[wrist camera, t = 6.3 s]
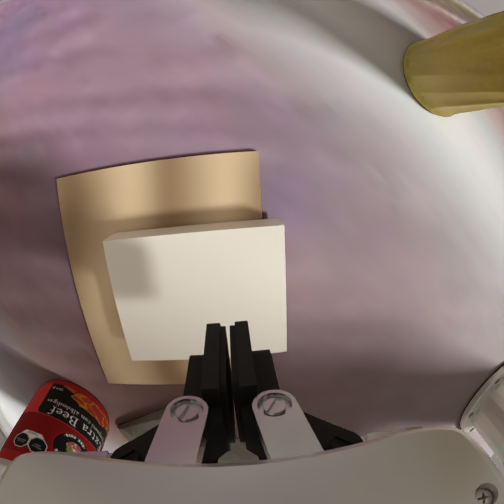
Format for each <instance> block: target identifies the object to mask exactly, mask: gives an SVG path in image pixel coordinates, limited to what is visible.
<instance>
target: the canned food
mask: <svg viewBox="0 0 504 504" xmlns="http://www.w3.org/2000/svg"><path fill="white" fill-rule="evenodd" d="M108 430H109V418H108V414H107V412H106V410H105V408H104V407H103V405H102V404H101V403H100V402H99V401H98V400H97V399H96V398H95V397H94V396H93V395H92V394H90V393H89V392H87V391H86V390H84V389H83V388H81V387H79V386H77V385H75V384H72V383H70V382H66V381H61V380H52V381H49V382H47V383H45V384H44V385H42V386H41V387H40V388H39V389H38V391H37V392H36V394H35V395H34V397H33V398H32V400H31V401H30V403H29V404H28V406H27V407H26V409H25V411H24V412H23V414H22V415H21V417H20V419H19V420H18V422H17V423H16V425H15V427H14V428H13V430H12V432H11V433H10V435H9V437H8V439H7V440H6V442H5V444H4V446H3V447H2V449H1V451H0V477H1V476H2V474H3V473H4V471H5V469H6V468H7V466H8V465H9V464H10V463H11V462H12V461H13V460H14V459H15V458H16V457H18V456H20V455H23V454H26V453H31V452H41V451H57V452H91V451H102V449H103V445H104V442H105V439H106V436H107V433H108Z"/></svg>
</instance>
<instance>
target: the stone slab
mask: <svg viewBox="0 0 504 504" xmlns="http://www.w3.org/2000/svg"><path fill="white" fill-rule="evenodd" d="M166 407H167V406H166ZM166 407H164V408H162V409H160V410H158V411H156V412H153V413H151V414H149V415H146V416H143V417H141V418H138V419H135V420H132V421H130V422H127V423H124V424H121V425H119V426H118V429H119V430H120V431H121V432H122V434H123V435H124V437H125V438H127V439H128V440H129V441H132V440H133V439H135V438H137V437H138V436H140V435H142V434H143V433H145V432H147V431H148V430H150V429H152V428H153V427H155V426H157V425H158V424H159V423H160V421H161V419H162V416H163V414H164V411H165V409H166ZM230 447H231V451H228V452H226V453H225V454H224V455H223V456H221V463H234V462H248V461H258V460H257V455H255V454H253V453H252V452H250V451H248V450H247V449H246V444H244V443H243V442H241V443H240V439H238V438H236V443H230Z"/></svg>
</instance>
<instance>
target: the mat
mask: <svg viewBox="0 0 504 504" xmlns="http://www.w3.org/2000/svg"><path fill="white" fill-rule="evenodd" d="M56 180H57V189H58V198H59V205H60V212H61V218H62V224H63V230H64V236H65V241H66V246H67V251H68V256H69V260H70V265H71V269H72V273H73V277H74V281H75V285H76V289H77V293H78V296H79V300H80V304H81V307H82V310H83V314H84V317H85V320H86V323H87V327H88V330H89V333H90V336H91V339H92V342H93V344H94V347H95V350H96V353H97V355H98V358H99V361H100V363H101V366H102V369H103V371H104V374H105V376H106V379H107V381H108V383H115V384H149V385H169V384H185V382H186V375H187V369H188V362H189V359H188V360H142V361H138V360H132V358H131V355H130V352H129V349H128V345H127V342H126V339H125V335H124V332H123V328H122V325H121V321H120V317H119V314H118V310H117V306H116V302H115V298H114V294H113V290H112V285H111V281H110V276H109V272H108V267H107V262H106V257H105V252H104V246H103V241H104V240H105V239H107V238H108V237H109V236H111V235H112V234H114V233H119V232H128V231H137V230H147V229H156V228H167V227H177V226H188V225H199V224H210V223H222V222H234V221H247V220H260V219H262V203H261V186H260V170H259V154H258V151H249V152H234V153H221V154H210V155H200V156H190V157H181V158H173V159H165V160H157V161H150V162H143V163H137V164H130V165H124V166H118V167H112V168H107V169H101V170H96V171H91V172H86V173H81V174H76V175H71V176H67V177H62V178H58V179H56ZM229 358H230V366H231V357H229Z"/></svg>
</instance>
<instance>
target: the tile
mask: <svg viewBox="0 0 504 504" xmlns="http://www.w3.org/2000/svg"><path fill="white" fill-rule="evenodd" d="M103 246H104V252H105V257H106V262H107V267H108V272H109V276H110V281H111V285H112V290H113V294H114V298H115V302H116V306H117V310H118V314H119V317H120V321H121V325H122V328H123V332H124V335H125V339H126V342H127V345H128V349H129V352H130V355H131V358H132V360H138V361H142V360H188V359H189V357H190V355H204V345H205V335H206V325H207V324H210V323H220V325H221V326H226V334H227V342H228V350H229V357H231V353H230V325H235V322H236V321H248V327H249V334H250V341H251V348H252V351H257V350H267V349H270V352H271V353H277V352H286V351H287V324H286V270H285V237H284V224H283V223H282V222H281V221H280V220H279V219H278V218H274V219H260V220H247V221H234V222H222V223H210V224H199V225H188V226H177V227H167V228H156V229H147V230H137V231H128V232H119V233H114V234H112V235H111V236H109V237H108V238H107V239H105V240H104V241H103Z"/></svg>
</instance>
